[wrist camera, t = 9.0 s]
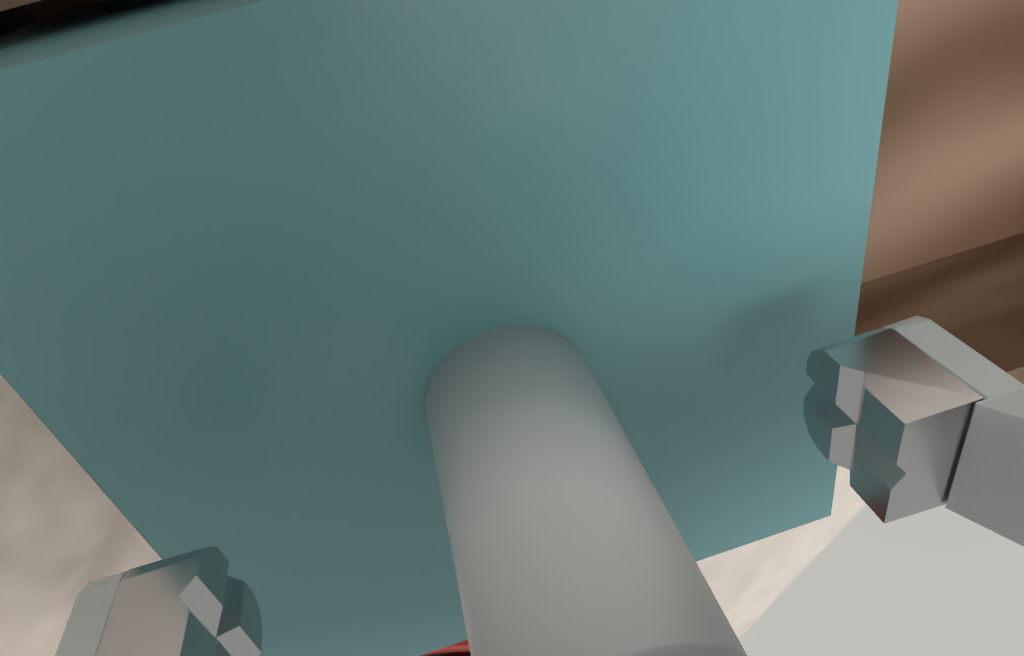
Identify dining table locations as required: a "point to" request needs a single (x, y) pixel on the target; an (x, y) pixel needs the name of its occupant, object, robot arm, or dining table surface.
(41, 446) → the dining table surface
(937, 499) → the robot arm
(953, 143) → the bay
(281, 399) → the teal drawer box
